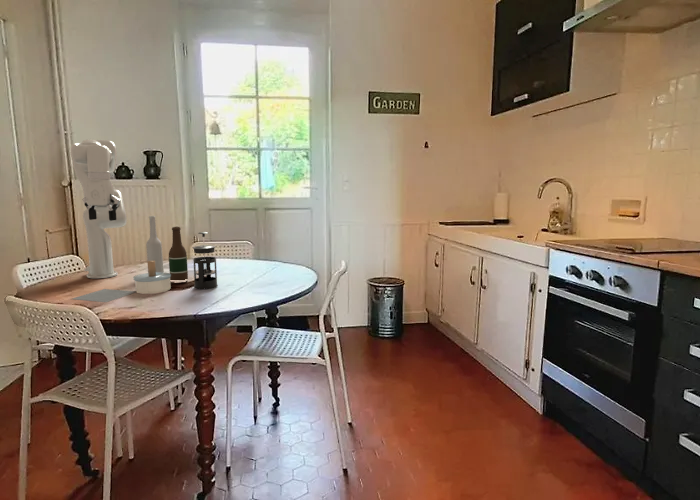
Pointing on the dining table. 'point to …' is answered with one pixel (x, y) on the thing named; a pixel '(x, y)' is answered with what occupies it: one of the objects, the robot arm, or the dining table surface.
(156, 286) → the bowl
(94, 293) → the mat
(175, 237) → the beer bottle
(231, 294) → the dining table surface
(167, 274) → the lid
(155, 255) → the bottle
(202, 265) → the french press
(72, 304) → the dining table surface
